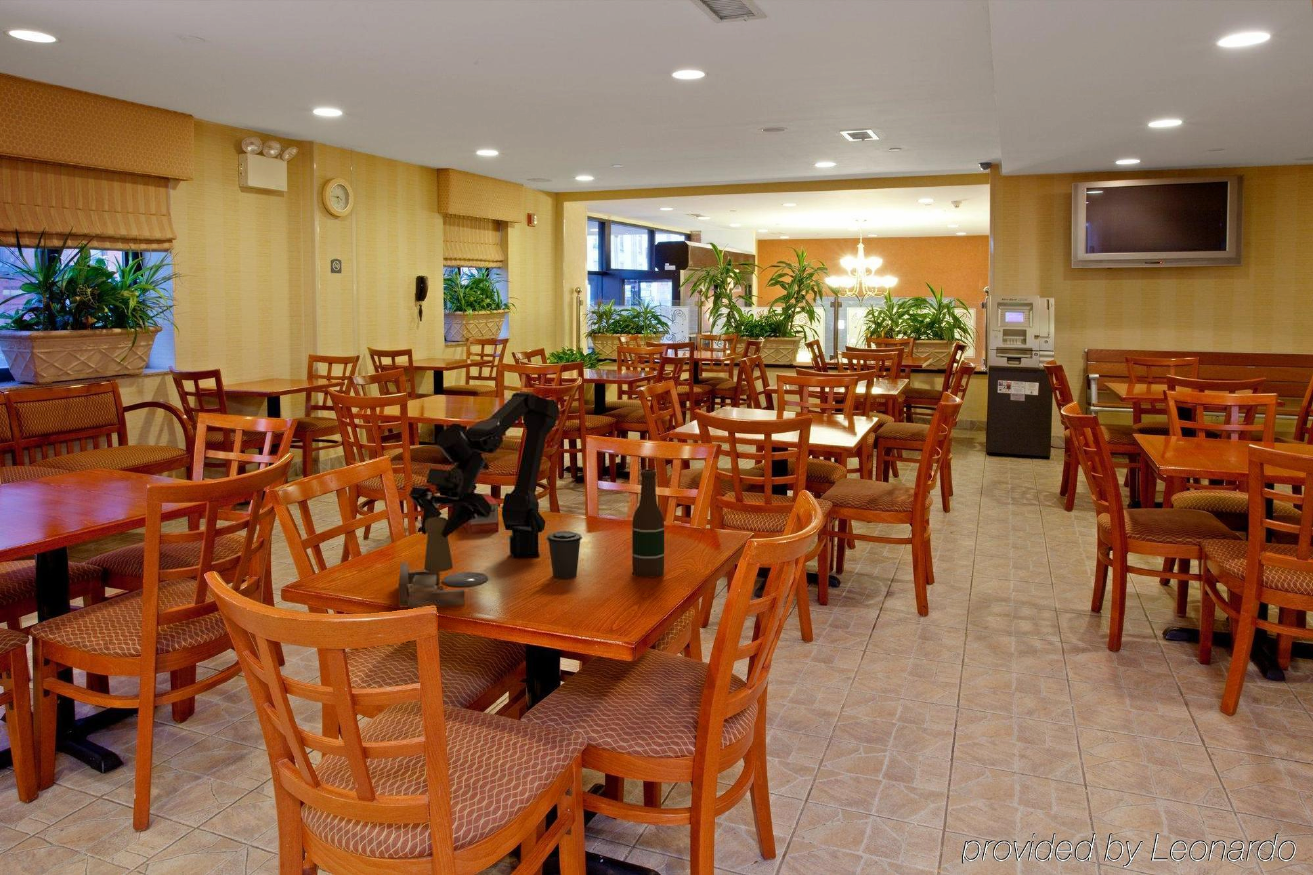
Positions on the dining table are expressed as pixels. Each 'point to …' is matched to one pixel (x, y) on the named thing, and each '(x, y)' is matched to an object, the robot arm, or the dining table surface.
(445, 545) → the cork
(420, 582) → the rack
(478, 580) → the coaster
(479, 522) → the medicine box
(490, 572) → the dining table surface
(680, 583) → the dining table surface
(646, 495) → the beer bottle
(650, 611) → the dining table surface
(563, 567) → the coffee cup
